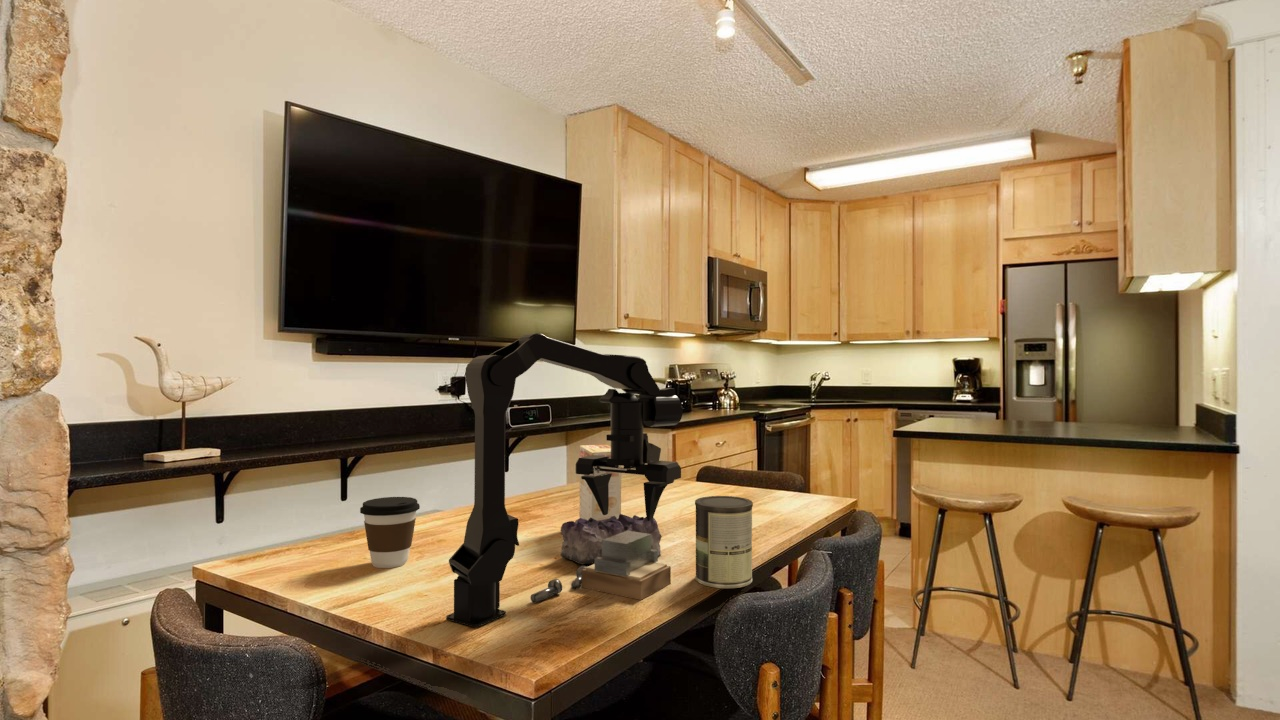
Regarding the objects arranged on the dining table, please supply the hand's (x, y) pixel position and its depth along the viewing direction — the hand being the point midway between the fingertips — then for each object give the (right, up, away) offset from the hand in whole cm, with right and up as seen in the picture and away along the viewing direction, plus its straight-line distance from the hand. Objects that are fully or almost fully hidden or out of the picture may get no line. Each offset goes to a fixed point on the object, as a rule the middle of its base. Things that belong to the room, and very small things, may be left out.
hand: (627, 517), depth 119 cm
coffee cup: (-46, -12, +13) cm, 49 cm away
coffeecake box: (-7, -13, +38) cm, 41 cm away
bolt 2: (-8, -12, 0) cm, 14 cm away
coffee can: (+17, -12, +3) cm, 21 cm away
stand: (0, -12, 0) cm, 12 cm away
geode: (-3, -12, +17) cm, 21 cm away
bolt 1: (-13, -11, -8) cm, 19 cm away
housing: (0, -8, 0) cm, 8 cm away
